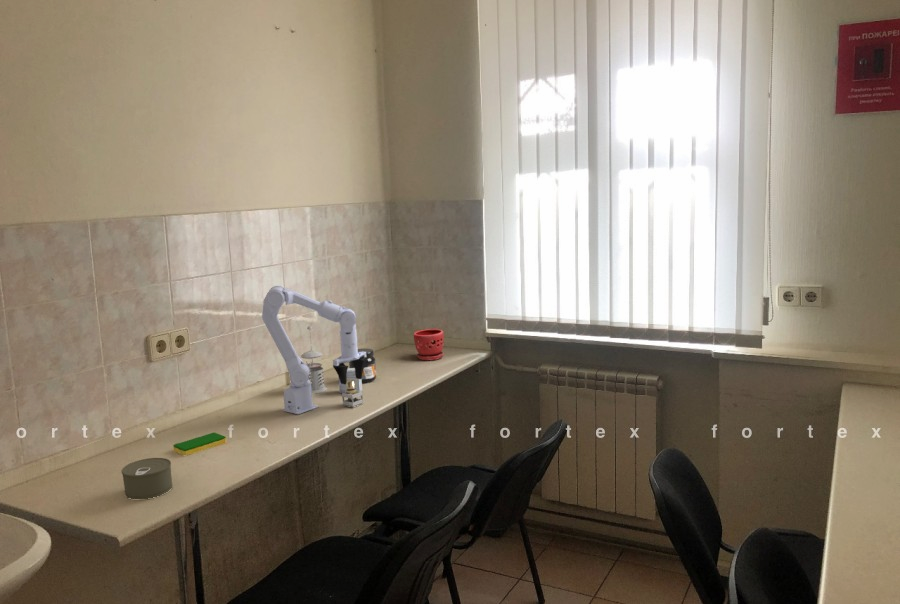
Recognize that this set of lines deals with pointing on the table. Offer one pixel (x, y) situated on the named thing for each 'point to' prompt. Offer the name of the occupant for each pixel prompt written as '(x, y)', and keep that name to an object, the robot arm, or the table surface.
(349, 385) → the gold domed cylinder
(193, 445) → the dish sponge
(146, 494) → the can
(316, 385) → the french press
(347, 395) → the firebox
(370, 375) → the supplement container
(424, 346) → the plant pot
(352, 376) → the medicine box
